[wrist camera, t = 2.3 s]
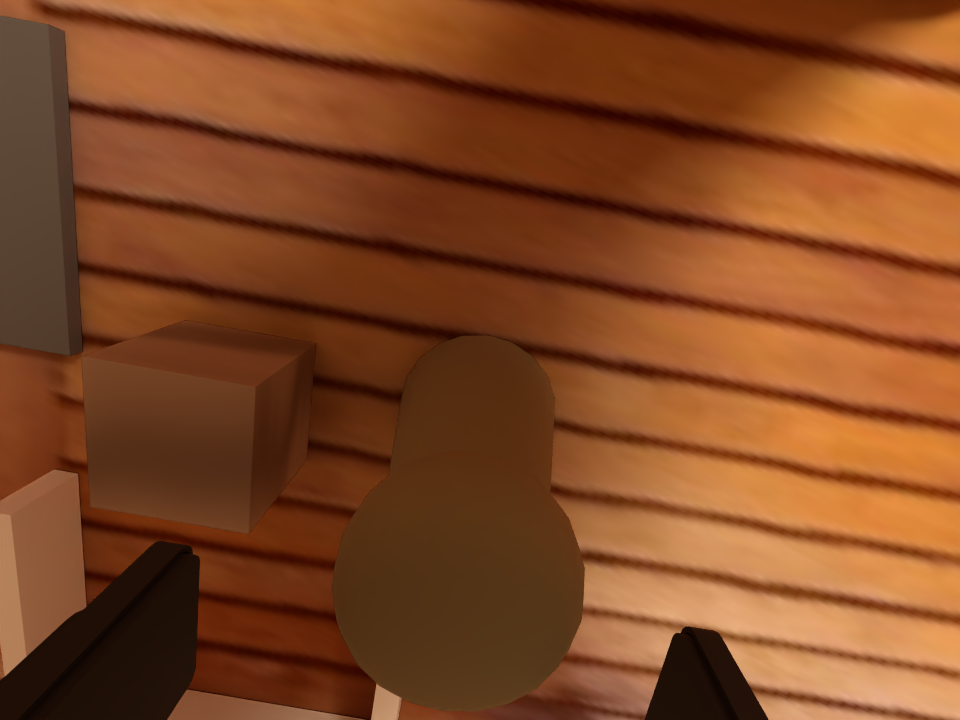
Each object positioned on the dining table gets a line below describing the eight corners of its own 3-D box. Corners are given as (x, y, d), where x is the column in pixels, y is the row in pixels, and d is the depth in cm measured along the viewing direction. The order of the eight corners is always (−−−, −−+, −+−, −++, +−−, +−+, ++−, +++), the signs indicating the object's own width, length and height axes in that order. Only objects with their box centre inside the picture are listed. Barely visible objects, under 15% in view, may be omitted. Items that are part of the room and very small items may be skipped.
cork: (377, 441, 20) (240, 697, 9) (438, 307, 18) (356, 436, 8) (511, 500, 20) (526, 806, 10) (583, 376, 19) (691, 583, 8)
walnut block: (186, 319, 19) (81, 355, 14) (316, 342, 19) (255, 386, 14) (186, 437, 20) (90, 506, 16) (307, 458, 20) (248, 534, 16)
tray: (54, 469, 21) (-18, 510, 18) (429, 534, 21) (418, 585, 18) (71, 685, 24) (13, 748, 21) (394, 739, 24) (380, 809, 22)
